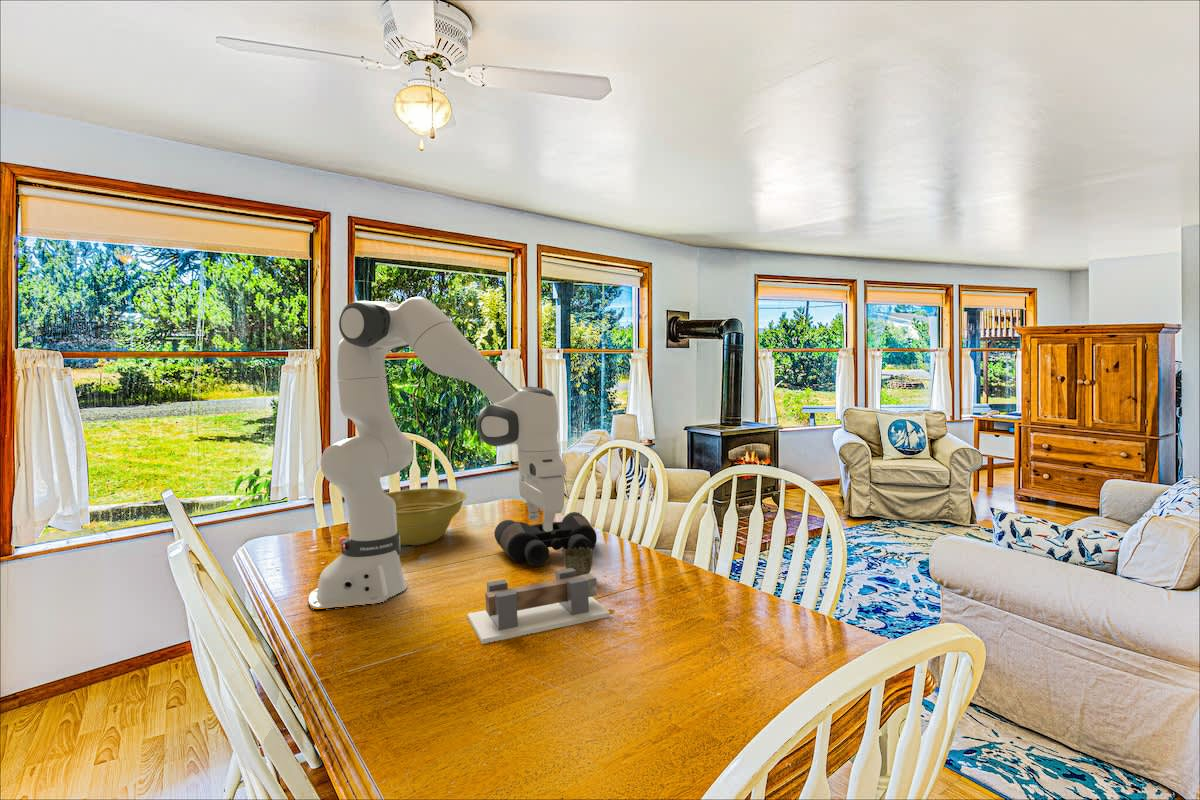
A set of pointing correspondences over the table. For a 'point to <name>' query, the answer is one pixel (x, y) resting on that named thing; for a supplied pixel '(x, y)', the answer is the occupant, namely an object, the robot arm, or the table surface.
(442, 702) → the table surface
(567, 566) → the cup
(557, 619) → the board
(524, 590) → the walnut bar
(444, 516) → the planter bowl
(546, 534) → the binoculars
